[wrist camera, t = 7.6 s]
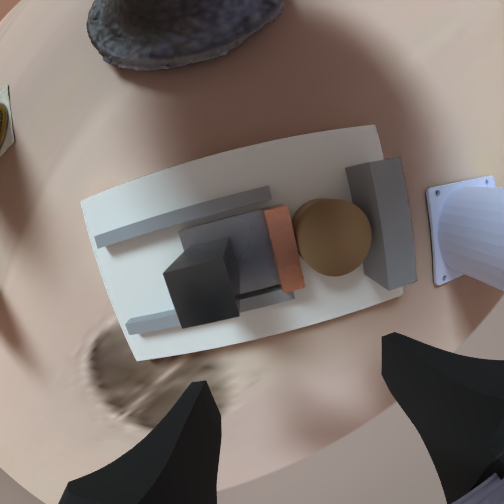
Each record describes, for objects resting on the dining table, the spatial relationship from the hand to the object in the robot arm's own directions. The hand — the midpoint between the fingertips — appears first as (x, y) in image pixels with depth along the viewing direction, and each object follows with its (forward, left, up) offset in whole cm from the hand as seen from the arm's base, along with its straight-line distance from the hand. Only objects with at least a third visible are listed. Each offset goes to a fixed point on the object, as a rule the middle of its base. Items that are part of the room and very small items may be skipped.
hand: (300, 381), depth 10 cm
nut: (-4, -4, -8) cm, 10 cm away
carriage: (+1, -4, -8) cm, 9 cm away
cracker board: (+1, -4, -9) cm, 10 cm away
